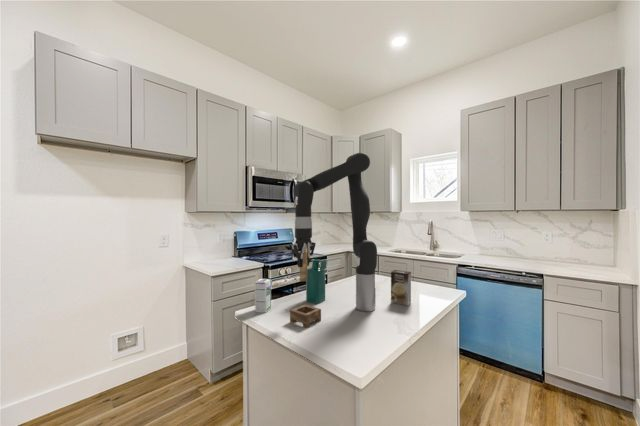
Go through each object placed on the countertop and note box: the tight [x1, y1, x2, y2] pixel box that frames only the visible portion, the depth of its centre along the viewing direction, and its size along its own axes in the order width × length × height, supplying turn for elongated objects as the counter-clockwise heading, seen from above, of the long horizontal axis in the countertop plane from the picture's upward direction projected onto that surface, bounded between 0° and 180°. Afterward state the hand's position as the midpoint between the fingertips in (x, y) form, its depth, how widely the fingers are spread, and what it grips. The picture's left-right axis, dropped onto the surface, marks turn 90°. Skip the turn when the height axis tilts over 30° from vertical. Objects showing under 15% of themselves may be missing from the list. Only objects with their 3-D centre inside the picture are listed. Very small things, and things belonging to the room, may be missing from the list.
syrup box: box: [254, 278, 272, 313], centre depth 128 cm, size 6×6×14 cm
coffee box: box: [390, 269, 412, 306], centre depth 138 cm, size 9×6×16 cm
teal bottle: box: [305, 258, 328, 304], centre depth 141 cm, size 10×8×22 cm
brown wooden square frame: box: [289, 304, 322, 329], centre depth 114 cm, size 9×9×5 cm
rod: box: [299, 244, 308, 282], centre depth 117 cm, size 3×3×16 cm
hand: (303, 266), depth 116 cm, fingers closed on rod, 3 cm apart
